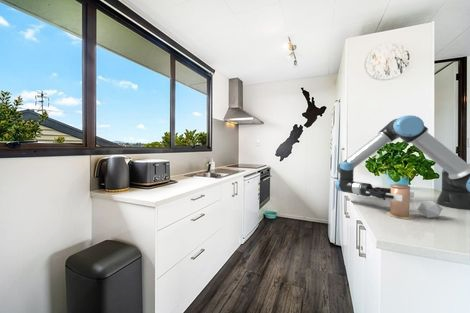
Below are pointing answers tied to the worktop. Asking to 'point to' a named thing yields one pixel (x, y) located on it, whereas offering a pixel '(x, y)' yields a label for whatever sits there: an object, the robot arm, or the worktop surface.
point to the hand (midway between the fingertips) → (408, 196)
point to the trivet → (399, 216)
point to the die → (429, 209)
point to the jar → (400, 206)
